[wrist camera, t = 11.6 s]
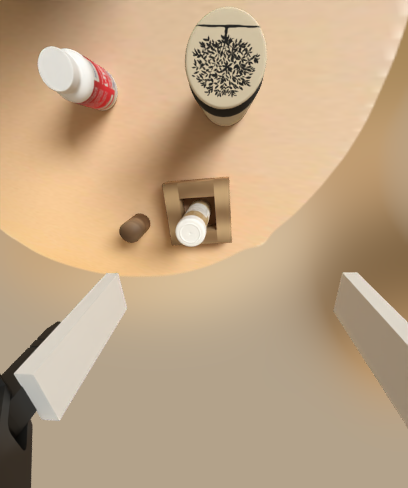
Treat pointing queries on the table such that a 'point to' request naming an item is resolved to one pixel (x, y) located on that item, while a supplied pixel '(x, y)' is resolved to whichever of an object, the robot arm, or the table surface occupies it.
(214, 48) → the travel mug
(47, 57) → the pill bottle
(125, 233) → the walnut stub
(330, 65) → the table surface
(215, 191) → the oak collar
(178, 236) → the sprinkles bottle
